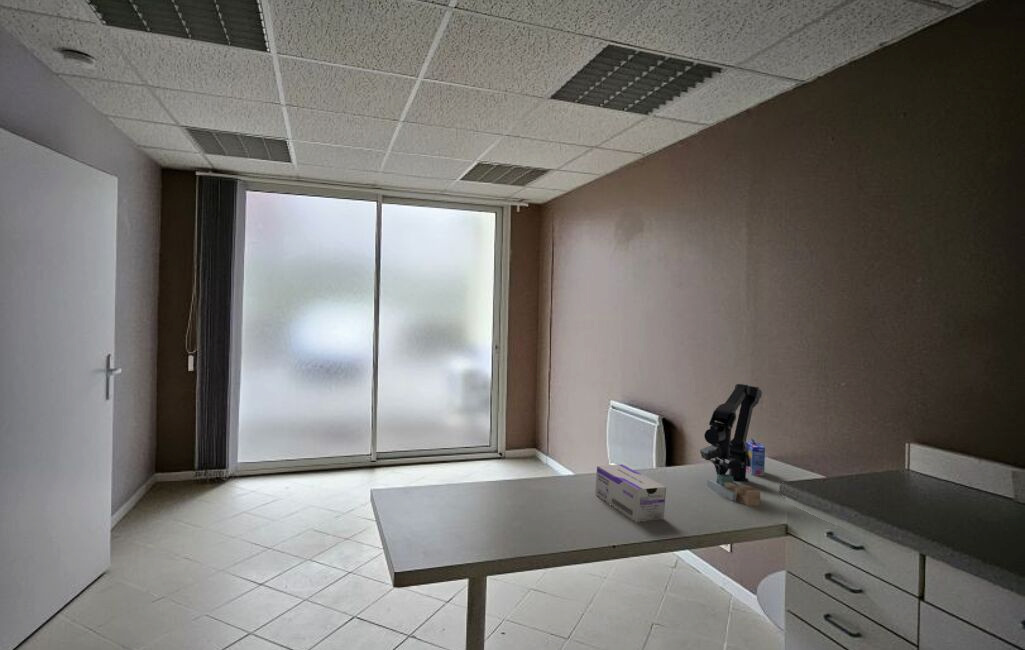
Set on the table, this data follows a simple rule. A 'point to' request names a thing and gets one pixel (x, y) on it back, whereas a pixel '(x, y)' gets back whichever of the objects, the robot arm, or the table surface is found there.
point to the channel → (723, 489)
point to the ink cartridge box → (756, 458)
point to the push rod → (727, 482)
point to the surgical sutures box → (631, 492)
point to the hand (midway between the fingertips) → (719, 479)
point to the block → (748, 495)
